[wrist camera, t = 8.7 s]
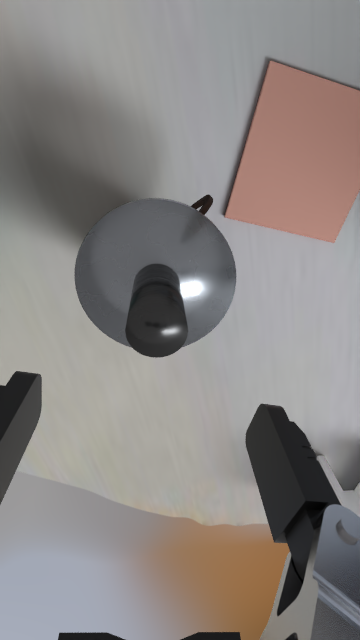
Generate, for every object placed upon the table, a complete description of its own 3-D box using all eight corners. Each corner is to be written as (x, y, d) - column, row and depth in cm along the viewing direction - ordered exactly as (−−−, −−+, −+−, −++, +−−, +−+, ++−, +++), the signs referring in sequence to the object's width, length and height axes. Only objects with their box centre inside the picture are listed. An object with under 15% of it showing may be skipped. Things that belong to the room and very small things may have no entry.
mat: (397, 105, 25) (400, 104, 25) (332, 241, 31) (334, 242, 30) (269, 61, 23) (270, 60, 23) (224, 216, 29) (225, 217, 28)
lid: (254, 220, 19) (298, 250, 13) (209, 352, 25) (226, 418, 18) (84, 178, 17) (45, 192, 11) (73, 331, 23) (43, 397, 17)
